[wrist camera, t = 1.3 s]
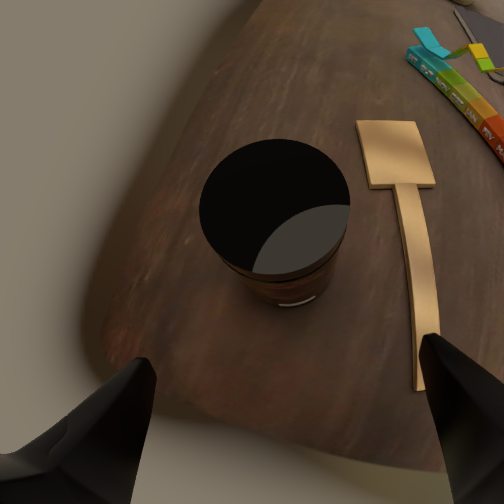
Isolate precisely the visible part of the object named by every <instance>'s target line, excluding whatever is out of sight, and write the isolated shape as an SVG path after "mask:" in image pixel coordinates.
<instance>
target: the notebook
mask: <svg viewBox="0 0 504 504" xmlns="http://www.w3.org/2000/svg"><path fill="white" fill-rule="evenodd" d="M455 8H456V9H455V11H454V14H455V15H456V17H457V18H458V20H459V21H460V23H461V25H462V26H463V28H464V30H465V31H466V33H467V35H468V37H469V38H470V40H471V42H472V44H476V43H482V45H483V46H484V48H485V50H486V52H487V54H488V56H489V58H490V59H491V61H492V63H493V65H494V67H495V69H497V68H504V24H502V23H500V22H498V21H496V20H493V19H491V18H489V17H486V16H484V15H481V14H479V13H476V12H473V11H471V10H468V9H466V8H462V7H460V6H455ZM488 75H489V77H490V78H491V79H492V80H494V81H496V82H498V83H501V84H503V85H504V71H496V72H488Z"/></svg>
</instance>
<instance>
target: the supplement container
mask: <svg viewBox="0 0 504 504" xmlns="http://www.w3.org/2000/svg"><path fill="white" fill-rule="evenodd" d="M349 212H350V195H349V190H348V186H347V183H346V181H345V178H344V176H343V174H342V173H341V171H340V169H339V168H338V167H337V165H336V164H335V163H334V162H333V161H332V160H331V159H330V158H329V157H328V156H327V155H325V154H324V153H323V152H321V151H320V150H318V149H316V148H314V147H312V146H310V145H308V144H305V143H302V142H298V141H294V140H287V139H270V140H263V141H258V142H255V143H251V144H249V145H246V146H244V147H242V148H240V149H238V150H236V151H234V152H233V153H231V154H230V155H228V156H227V157H226V158H225V159H223V160H222V161H221V162H220V163H219V164H218V165H217V166H216V168H215V169H214V170H213V171H212V173H211V174H210V176H209V177H208V179H207V181H206V183H205V185H204V187H203V190H202V193H201V198H200V204H199V216H200V223H201V227H202V230H203V233H204V235H205V237H206V239H207V241H208V242H209V244H210V245H211V247H212V248H213V249H214V250H215V251H216V253H217V254H218V255H219V257H220V258H221V259H222V260H223V261H224V262H225V263H226V264H227V265H228V266H229V267H230V268H231V269H232V270H234V272H235V273H236V274H237V275H238V276H239V277H240V278H241V279H242V280H243V281H244V283H245V284H246V285H247V286H248V287H249V288H250V289H251V290H252V291H253V292H254V294H255V295H257V296H258V297H259V298H260V299H261V300H263V301H265V302H266V303H269V304H271V305H274V306H278V307H284V308H290V307H297V306H301V305H304V304H307V303H309V302H311V301H312V300H314V299H315V298H317V297H318V296H319V295H320V294H321V293H322V292H323V291H324V289H325V288H326V287H327V285H328V283H329V281H330V279H331V276H332V273H333V270H334V266H335V263H336V259H337V256H338V252H339V249H340V245H341V243H342V241H343V238H344V235H345V232H346V227H347V222H348V218H349Z"/></svg>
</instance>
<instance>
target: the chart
mask: <svg viewBox="0 0 504 504" xmlns="http://www.w3.org/2000/svg"><path fill="white" fill-rule="evenodd" d="M413 32H414V33H415V35H416V36H417V38H418V39H419V41H420V42H421V44H422V45H419V46H413V47H408V50H407V55H406V60H408V61H409V62H410V63H411V64H412V65H413V66H415V67H416V68H417V69H418V70H419V71H420V72H421V73H423V74H424V75H425V76H426V77H427V78H428V79H429V80H430V81H431V82H432V83H434V85H435V86H437V87H438V88H439V89H440V90H441V91H442V92H443V93H444V94H445V95H446V96H447V97H448V98H449V99H450V100H451V101H452V102H453V103H454V105H455V106H456V107H457V108H458V109H459V110H460V111H461V112H462V113H463V114H464V115H465V116H466V117H467V119H468V120H469V121H470V122H471V123H472V124H473V125H474V127H475V128H476V129H477V130H478V131H479V132H480V134H481V135H482V136H483V137H484V139H485V140H486V141H487V142H488V143H489V145H490V146H491V147H492V149H493V150H494V151H495V152H496V154H497V155H498V156H499V158H500V159H501V160H502V162H503V163H504V120H503V119H502V118H501V117H500V116H499V114H498V113H497V112H496V111H495V110H494V109H493V108H492V107H491V106H490V104H489V103H488V102H487V101H486V100H485V99H484V98H483V97H482V96H481V95H480V94H479V93H478V92H477V91H476V90H475V89H474V88H473V87H472V86H471V85H470V84H469V83H468V82H467V81H466V80H465V79H464V78H463V77H462V76H460V75H459V74H458V73H457V72H456V71H455V70H454V69H453V68H452V67H450V66H449V65H448V64H447V63H446V62H445V61H444V60H447V59H453V58H457V57H459V56H461V55H463V54H465V53H467V52H469V51H470V53H471V55H472V56H473V58H474V60H475V61H476V64H477V66H478V68H479V70H480V72H481V73H488V72H496V71H504V68H497V69H495V67H494V65H493V63H492V61H491V59H490V58H489V56H488V54H487V52H486V50H485V48H484V46H483V45H482V43H476V44H467V45H465V46H463V47H461V48H460V49H458V50H456V51H454V52H452V53H451V52H449V51H448V50H446V49H444V48H443V47H440V45H439V43H438V41H437V40H436V38H435V37H434V35H433V34H432V32H431V31H430V29H429V28H428V27H424V28H413Z"/></svg>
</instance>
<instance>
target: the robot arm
mask: <svg viewBox="0 0 504 504" xmlns="http://www.w3.org/2000/svg"><path fill="white" fill-rule="evenodd" d="M418 357H419V362H420V367H421V371H422V376H423V381H424V386H425V391H426V395H427V400H428V403H429V406H430V410H431V413H432V416H433V420H434V423H435V426H436V430H437V433H438V437H439V441H440V444H441V448H442V452H443V456H444V460H445V464H446V469H447V473H448V477H449V482H450V487H451V492H452V497H453V502H454V504H504V384H503V383H502V382H501V381H500V380H498V379H497V378H496V377H494V376H493V375H492V374H490V373H489V372H488V371H487V370H485V369H484V368H483V367H481V366H480V365H479V364H477V363H476V362H475V361H473V360H472V359H471V358H469V357H468V356H467V355H465V354H464V353H463V352H461V351H460V350H459V349H457V348H456V347H455V346H453V345H452V344H451V343H449V342H448V341H447V340H445V339H444V338H442V337H441V336H440V335H438V334H437V333H434V332H433V333H428V334H425V335H423V337H422V341H421V345H420V349H419V354H418ZM156 381H157V376H156V373H155V371H154V369H153V367H152V365H151V363H150V361H149V360H148V359H147V358H142V357H137V358H135V359H133V360H132V361H131V362H130V363H129V364H127V365H126V366H125V367H124V368H123V369H121V370H120V371H119V372H118V373H117V374H115V375H114V376H113V377H112V378H111V379H109V380H108V381H107V382H106V383H105V384H103V385H102V386H101V387H100V388H99V389H98V390H96V391H95V392H94V393H93V394H91V395H90V396H89V397H88V398H87V399H86V400H84V401H83V402H82V403H81V404H79V405H78V406H77V407H76V408H75V409H73V410H72V411H71V412H70V413H69V414H68V415H67V416H65V417H64V418H62V419H61V420H60V421H59V422H58V423H56V424H55V425H54V426H52V427H51V428H50V429H49V430H47V431H46V432H44V433H43V434H42V435H40V436H39V437H37V438H36V439H34V440H33V441H31V442H30V443H28V444H27V445H25V446H24V447H22V448H21V449H19V450H17V451H15V452H13V453H9V454H0V504H130V502H131V498H132V493H133V488H134V484H135V480H136V475H137V471H138V467H139V462H140V459H141V454H142V450H143V446H144V442H145V438H146V434H147V430H148V426H149V422H150V418H151V413H152V407H153V400H154V393H155V387H156Z"/></svg>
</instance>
